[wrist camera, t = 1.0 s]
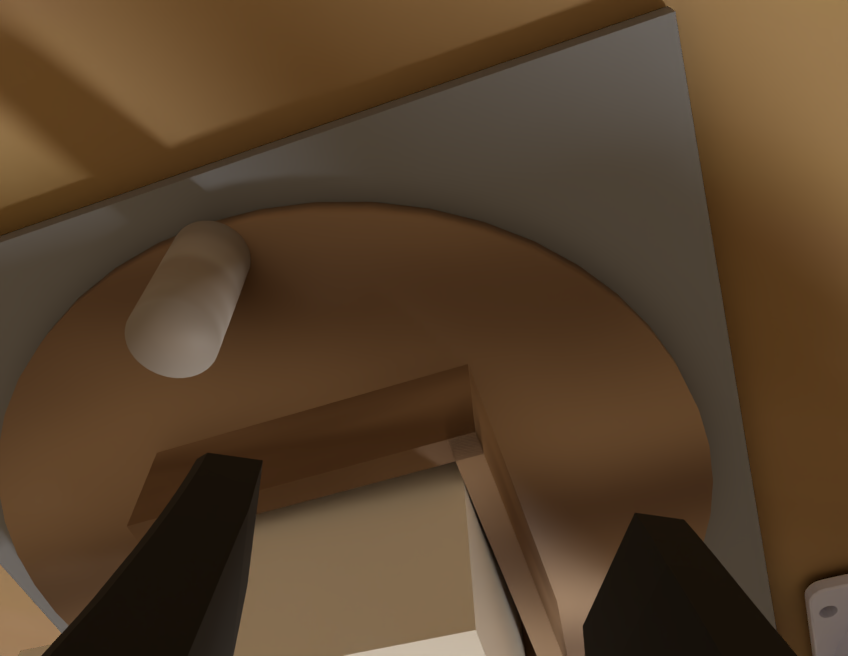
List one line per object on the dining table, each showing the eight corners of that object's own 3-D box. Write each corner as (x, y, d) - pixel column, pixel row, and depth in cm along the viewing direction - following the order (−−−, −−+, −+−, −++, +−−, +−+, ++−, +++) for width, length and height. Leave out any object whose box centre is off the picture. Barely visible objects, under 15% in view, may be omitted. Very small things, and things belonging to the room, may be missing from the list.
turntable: (745, 649, 24) (796, 774, 21) (208, 764, 27) (181, 890, 24) (629, 67, 15) (688, 129, 12) (-162, 331, 18) (-287, 440, 15)
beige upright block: (458, 412, 19) (475, 629, 14) (516, 590, 22) (548, 819, 17) (5, 517, 20) (-130, 747, 15) (123, 669, 24) (43, 901, 18)
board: (802, 807, 30) (814, 838, 29) (310, 897, 33) (307, 927, 32) (667, 6, 15) (684, 17, 14) (-205, 306, 18) (-238, 332, 17)
